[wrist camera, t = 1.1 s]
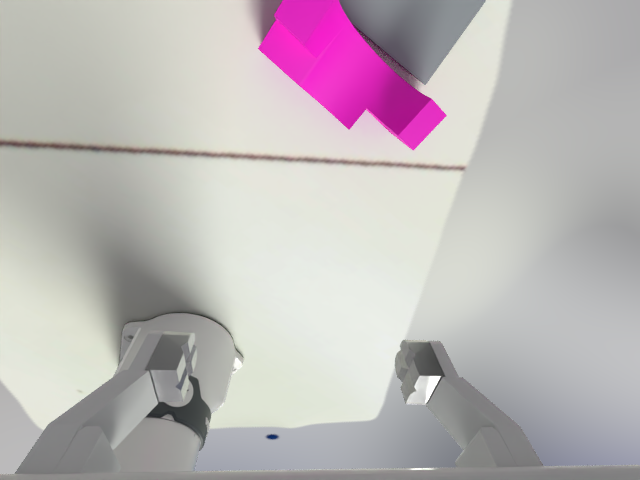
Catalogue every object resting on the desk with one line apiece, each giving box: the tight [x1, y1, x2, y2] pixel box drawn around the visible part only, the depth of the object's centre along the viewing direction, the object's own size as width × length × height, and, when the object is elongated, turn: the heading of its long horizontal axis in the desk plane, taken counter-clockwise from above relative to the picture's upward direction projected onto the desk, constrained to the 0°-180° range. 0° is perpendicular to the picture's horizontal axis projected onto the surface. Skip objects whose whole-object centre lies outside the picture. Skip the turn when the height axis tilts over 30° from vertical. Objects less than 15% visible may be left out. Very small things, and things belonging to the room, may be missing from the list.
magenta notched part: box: [258, 0, 447, 150], centre depth 27 cm, size 15×6×8 cm, turn 50°
